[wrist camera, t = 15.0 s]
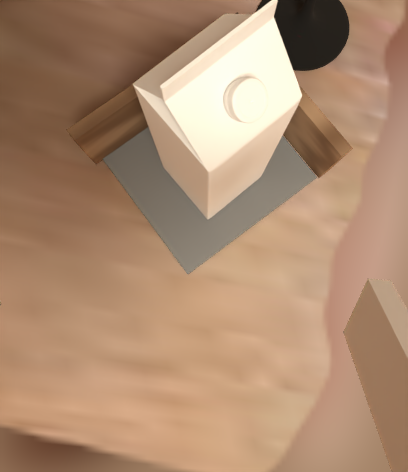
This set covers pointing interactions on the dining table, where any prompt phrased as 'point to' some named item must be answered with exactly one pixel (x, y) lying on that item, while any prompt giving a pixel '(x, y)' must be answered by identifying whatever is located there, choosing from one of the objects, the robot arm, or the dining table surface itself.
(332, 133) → the corner walls
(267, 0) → the wine glass
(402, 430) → the robot arm
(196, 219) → the mat
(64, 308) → the dining table surface
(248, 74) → the milk carton
